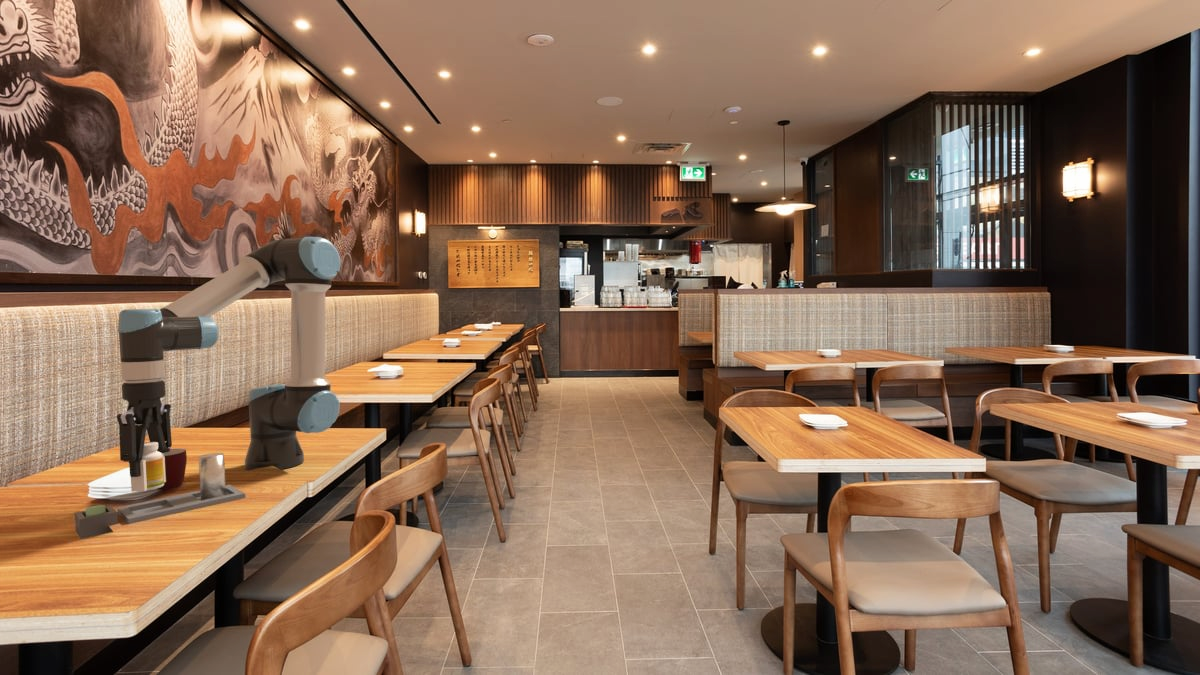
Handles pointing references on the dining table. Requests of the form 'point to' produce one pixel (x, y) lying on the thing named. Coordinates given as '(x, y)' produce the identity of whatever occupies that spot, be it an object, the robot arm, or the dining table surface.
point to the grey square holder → (95, 523)
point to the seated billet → (212, 475)
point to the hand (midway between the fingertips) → (149, 486)
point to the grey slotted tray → (174, 505)
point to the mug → (174, 468)
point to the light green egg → (95, 510)
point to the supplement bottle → (153, 465)
